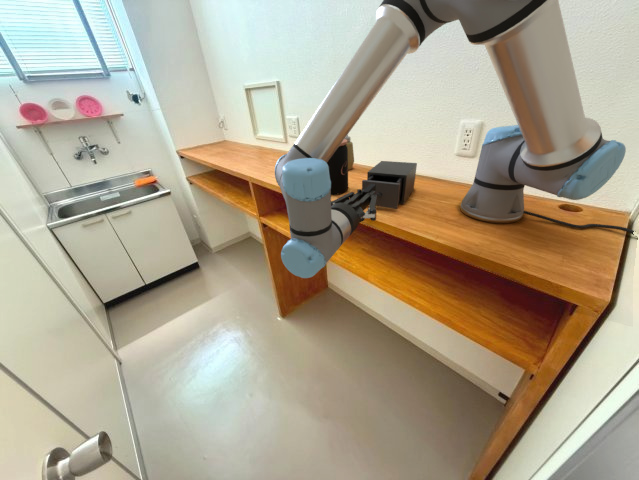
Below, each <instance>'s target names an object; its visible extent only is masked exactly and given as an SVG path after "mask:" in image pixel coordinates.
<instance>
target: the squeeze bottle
mask: <svg viewBox="0 0 639 480" xmlns="http://www.w3.org/2000/svg"><path fill="white" fill-rule="evenodd" d="M345 139H346V140H347V141H348V142H347V145H346V146H347V148H348V171H350V170H352V169H353V167H354V163H355V154H354V145H353V142H352V141H351V136H349V134H348V135H347V136H346V137H345Z"/></svg>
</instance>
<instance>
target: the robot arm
mask: <svg viewBox="0 0 639 480" xmlns="http://www.w3.org/2000/svg"><path fill="white" fill-rule="evenodd" d="M456 21H459V23H460V25H461V28H462V29H463V32H464V34H465V36H466V38H467V40H468V43H470V44H471V45H475V46H484V47H485V49H486V52H487V54H488V57H489V59H490V61H491V64H492V66H493V68H494V71H495V73H496V76H497V79H498V81H499V83H500V85H501V88H502V91H503V92H504V95H505V97H506V99H507V102H508V104H509V106H510V109H511V111H512V114H513V117H514V119H515V121H516V123H517V124H512V125H505V126H496V127H492V128H490V129H489V130H488V131H487V132H486V134H485V137H484V140H483V143H482V144H481V150H480V154H479V158H478V162H477V167H476V171H475V174H474V179H473V183H472V184H471V186H470V188H469V189H468V191H467V192H466V194H465V196H464V197H463V198H462V200H461V203H460V207H459V210H460V211H461V212H462V213H463V214H464V215H466V216H467V217H469V218H471V219H474V220H476V221H477V220H478V221H481V222H486V223H491V224H511V223H516V222H519V221H520V220H521V219H522V217H523V215H524V214H525V215H527V216H532V217H536V218H538V219H542V220H545V221H549V222H552V223H554V224H559V225H562V226H566V227H570V228H574V229H588V228H602V229H611V230H618V231H623V232H626V233H629V234H630V235H633V236H634V234H633V232H634V231H635V230H633V229H631V228H628V227H623V226H620V225H619V226H618V225H611V224H601V223H587V224H583V225H581V224H575V223H574V224H573V223H570V222H567V221H563V220H559V219H555V218H551V217H550V216H549V217H548V216H545V215H543V214H539V213H535V212H531V211H527V210H525V197H524V195H525V194H524V189H525V186H526V187H529V188H532V189H536V190H539V191H542V192H545V193H548V194H550V195H554V196H556V197H557V198H564V199H567V200H572V201H579V200H583V199H586V198H588V197H590V196H592V195H594V194H595V193H596V192H597V191H600V189H601V188H603V187H604V186H605V184H606V183H608V181H609V180H611V178H613V176H614V175H615V174H616V173H617V171H618V169H619V168H620V167H621V164H622V162H623V161H624V159H625V155H626V151H627V147H626V145H625V144H624V143H623V142H620V141H617V140H616V139H612V140H607V139H605V138H603V133H602V128H601V126H600V124H599V123H598V122H597V120H596V119H593V118H590V117H586V116H585V115H586V114H585V111H584V106H583V102H582V98H581V93H580V89H579V85H578V80H577V76H576V71H575V67H574V62H573V58H572V53H571V49H570V44H569V41H568V37H567V36H568V35H567V32H566V28H565V24H564V20H563V15H562V10H561V6H560V2H559V0H382V1H381V3H380V5H379V6H378V8H377V9H376V11H375V23H374V25H373V26H372V28H371V29H370V31H369V32H368V34H366V37H364V39H363V41H362V42H361V44H360V46H359V47H358V48H357V50H356V52H354V54H353V56H352V58H351V59H350V60H349V62H347V64H346V66H345V67H344V69H343V70H342V72H341V74H339V77H338V78H337V79H336V81H335V83H334V84H333V85H332V87H331V88H330V90H329V91H328V93H327V94H326V96H325V97H324V99H323V100H322V102H321V103H320V104H319V106H318V107H317V109H316V110H315V112H314V113H313V115H312V116H311V118H310V119H309V121H308V122H307V123H306V125H305V127H304V128H303V130H302V131H301V133H299V136H298V137H297V138H296V140H295V142H294V143H293V145H292V146H291V147H290V149H289V151H288V152H287V153H285V154H282V155H281V156H280V157H278V159H277V161H276V163H275V165H274V178H275V181H276V183H277V185H278V186H279V188H280V191H281V194H282V196H283V199H284V201H285V205H286V212H287V217H288V223H289V234H290V239H288V240H287V241H286V243H285V244H284V245H283V246H282V249H281V252H280V258H281V261H282V264H283V265H284V267H285V268H286V269H287V271H289V273H291V274H292V275H294V276H295V277H299V278H301V279H309V278H312V277H314V276H316V274H318V273H319V272H320V270H321V269H323V268H324V267H325V266H326V265H327V263H328V262H329V261H330V260H331V259H332V257H333V256H335V254H336V252H338V251H339V249H340V248H341V247H342V245H344V243H345V242H346V241H347V240H348V238H349V237H350V236H352V234H353V233H354V232H355V231H356V229H357V228H358V227H359V225H360V223H362V222H364V221H365V220H366V219H369V220H370V221H372V222H376V221H377V206H376V205H377V195H375V194H376V184H370V185H369V186H368V187H367V188H366V189H365V190H362V188H358V189H357V190H356V193H355V192H354V191H350V192H348V193H345V194H344V195H341V196H339V197H338V198H336V199H333V200H332V195H331V180H330V175H329V167H328V164H327V162H328V160H329V159H330V158H331V156H332V155H333V154H334V152H335V151H336V150H337V148H338V147H339V145H340V144H341V143H342V141H343V140H344V139H345V137H346V136H347V135H348V136H349V133H350V132H351V131H352V129H353V128H354V127H355V125H356V124H357V123H358V121H359V120H360V119H361V117H362V116H363V114H364V113H365V112H366V111H367V109H368V107H369V106H370V105H371V104H372V102H373V101H374V99H375V98H376V97H377V95H378V93H379V92H380V91H381V90H382V89H383V87H384V86H385V84H386V83H387V82H388V81H389V79H390V78H391V77H392V75H393V74H394V73H395V71H396V70H397V68H398V67H399V66H400V64H401V63H402V62H403V60H404V59H405V57H406V56H407V55H408V54H414V53H416V52H417V51H418V50H419V48H420V47H421V45H422V44H423V43H424V41H425V40H426V39H427V38H428V37H429V36H431V34H433V33H434V32H436V31H437V30H438V29H440V28H441V27H442V26H444V25H447V24H449V23H452V22H456ZM366 209H367V210H366ZM365 210H366V212H365Z"/></svg>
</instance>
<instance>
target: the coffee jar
mask: <svg viewBox="0 0 639 480" xmlns="http://www.w3.org/2000/svg"><path fill="white" fill-rule="evenodd" d="M347 142H348V141H347V140H346V139H344V140H343V141H342V143H341V144H340V145H339V147H338V148H337V150H336V151H335V152H334V154H333V155H332V156H331V158H330V159H329V160H328V162H327V164H328V167H329V175H330V180H331V196H336V195H342V194H345V193H346V192H347V190H348V188H349V170H348V148H347V146H346V145H347Z"/></svg>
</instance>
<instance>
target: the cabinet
mask: <svg viewBox="0 0 639 480" xmlns="http://www.w3.org/2000/svg"><path fill="white" fill-rule="evenodd" d="M417 166H418V163H417V162H407V161H405V162H404V161H390V160H380V162H378V163H377V164H375V165H374V166H373V167H372V168H371V169H369V170H368V171H367V175H366V176H367V178H366V180H367V179H368V178H369V177H370V176H372V175H379V176H391V177H402V178H404V182H403V191H402V198H401V200H400V201H399V202H398V205H405V204H406V202H407V200H408V199H409V197H410V196H411V194H412V193H413V191H414V190H415V182H416V174H417Z"/></svg>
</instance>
